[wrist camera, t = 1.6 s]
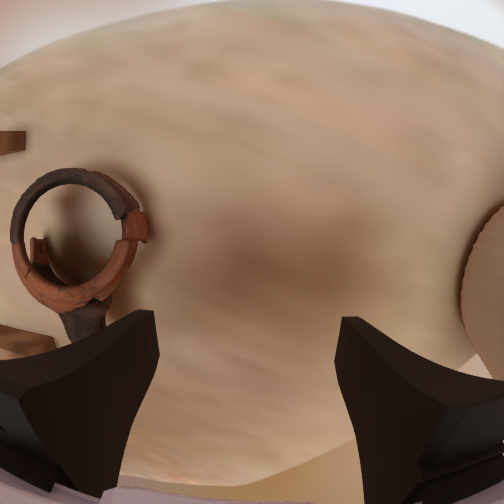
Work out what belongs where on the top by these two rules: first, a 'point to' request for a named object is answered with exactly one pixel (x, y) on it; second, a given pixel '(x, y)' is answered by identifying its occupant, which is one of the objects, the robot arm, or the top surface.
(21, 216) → the brown ring with stem
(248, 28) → the top surface
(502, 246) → the canister
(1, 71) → the top surface
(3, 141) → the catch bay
